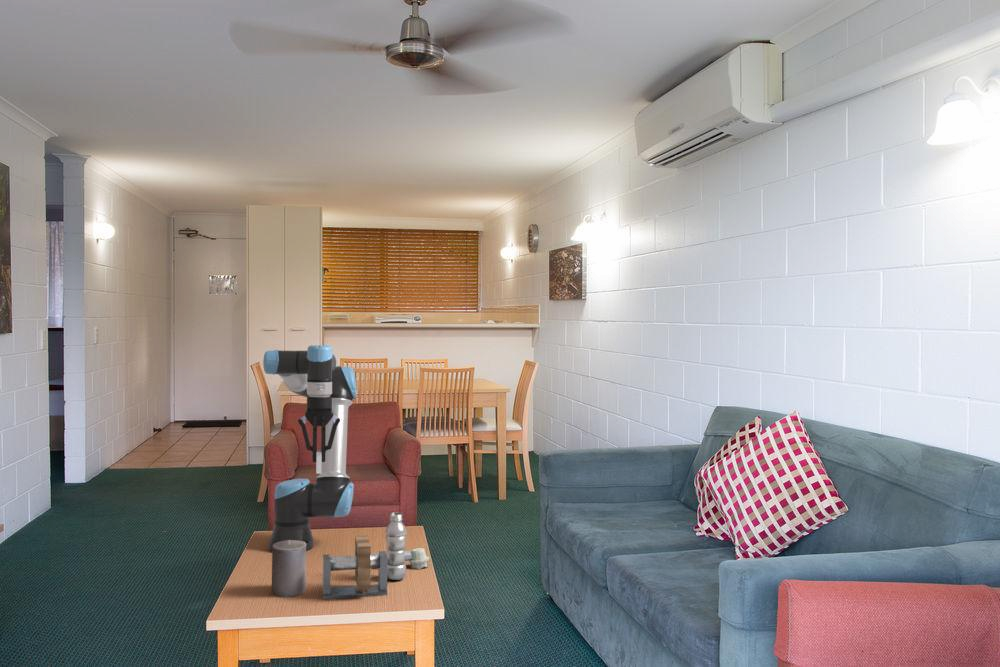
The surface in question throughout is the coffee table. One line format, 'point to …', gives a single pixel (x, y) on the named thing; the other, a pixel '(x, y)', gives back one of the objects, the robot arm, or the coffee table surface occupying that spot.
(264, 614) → the coffee table surface
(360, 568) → the slotted tan block
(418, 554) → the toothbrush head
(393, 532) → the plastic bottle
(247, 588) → the coffee table surface
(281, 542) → the pillar candle
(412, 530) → the coffee table surface
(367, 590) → the rail stand
